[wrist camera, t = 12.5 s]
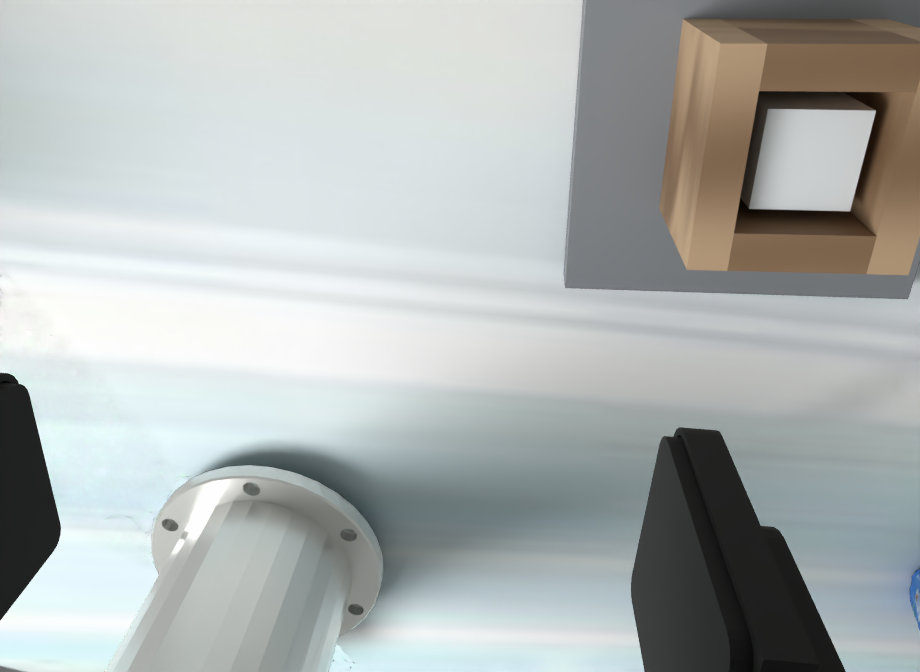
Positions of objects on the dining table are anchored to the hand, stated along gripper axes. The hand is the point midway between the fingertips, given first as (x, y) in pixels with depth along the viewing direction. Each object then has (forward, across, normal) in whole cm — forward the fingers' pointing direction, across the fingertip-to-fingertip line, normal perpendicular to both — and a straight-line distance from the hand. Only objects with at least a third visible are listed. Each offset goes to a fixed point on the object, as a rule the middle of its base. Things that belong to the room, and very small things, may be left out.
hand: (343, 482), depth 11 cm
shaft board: (+22, -12, -2) cm, 25 cm away
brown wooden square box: (+20, -12, -2) cm, 24 cm away
